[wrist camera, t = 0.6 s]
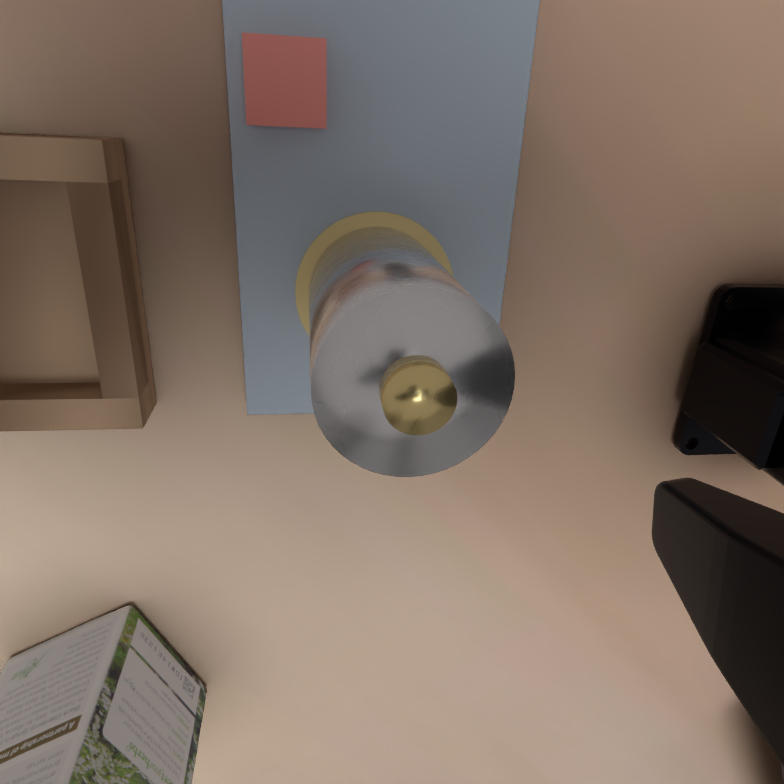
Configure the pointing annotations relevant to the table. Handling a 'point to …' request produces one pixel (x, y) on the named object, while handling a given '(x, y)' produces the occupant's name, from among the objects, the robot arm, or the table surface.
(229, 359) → the table surface
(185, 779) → the syrup box
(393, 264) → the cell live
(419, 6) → the blue grey board
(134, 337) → the brown wooden tray
